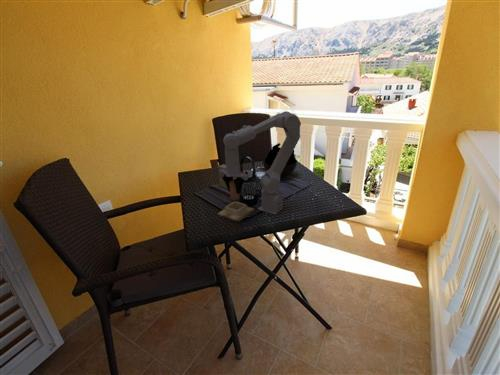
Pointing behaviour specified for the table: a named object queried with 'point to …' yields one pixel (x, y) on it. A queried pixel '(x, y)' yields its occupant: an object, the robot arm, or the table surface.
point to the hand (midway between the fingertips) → (234, 191)
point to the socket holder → (236, 211)
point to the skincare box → (222, 176)
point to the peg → (233, 190)
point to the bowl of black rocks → (271, 157)
